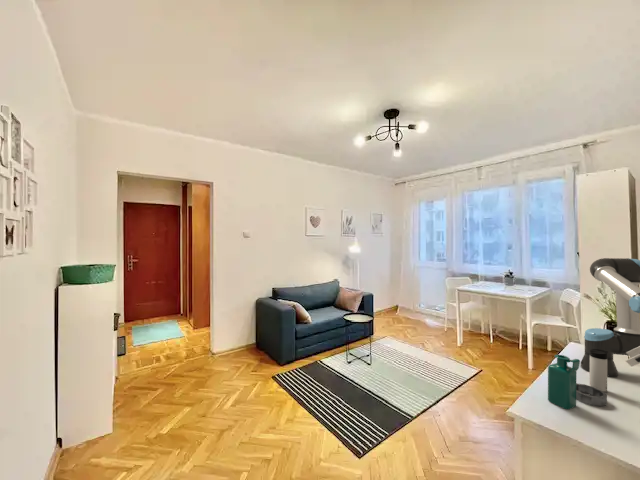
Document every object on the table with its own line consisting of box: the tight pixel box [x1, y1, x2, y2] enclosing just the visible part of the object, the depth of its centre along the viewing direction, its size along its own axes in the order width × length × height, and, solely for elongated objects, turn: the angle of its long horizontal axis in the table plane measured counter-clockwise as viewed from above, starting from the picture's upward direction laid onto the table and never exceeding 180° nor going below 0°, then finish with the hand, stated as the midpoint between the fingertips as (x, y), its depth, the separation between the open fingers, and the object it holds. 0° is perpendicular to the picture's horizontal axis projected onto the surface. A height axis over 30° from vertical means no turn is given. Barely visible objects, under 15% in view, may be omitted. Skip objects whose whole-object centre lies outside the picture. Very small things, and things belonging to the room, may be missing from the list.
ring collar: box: [576, 382, 608, 408], centre depth 132 cm, size 12×12×4 cm
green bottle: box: [547, 354, 581, 410], centre depth 127 cm, size 10×8×22 cm
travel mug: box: [589, 349, 608, 394], centre depth 139 cm, size 6×7×20 cm
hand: (628, 359), depth 131 cm, fingers open, 13 cm apart
